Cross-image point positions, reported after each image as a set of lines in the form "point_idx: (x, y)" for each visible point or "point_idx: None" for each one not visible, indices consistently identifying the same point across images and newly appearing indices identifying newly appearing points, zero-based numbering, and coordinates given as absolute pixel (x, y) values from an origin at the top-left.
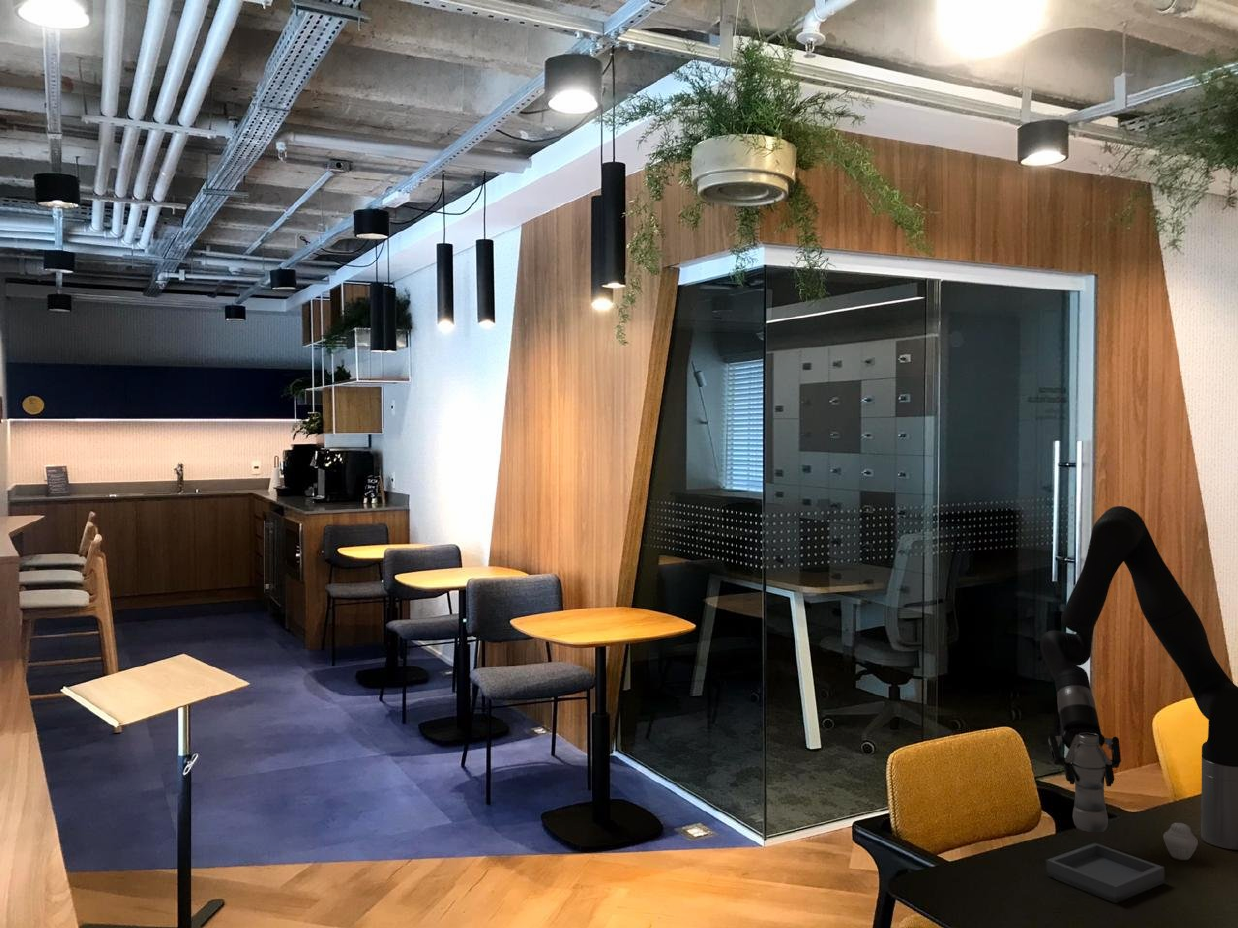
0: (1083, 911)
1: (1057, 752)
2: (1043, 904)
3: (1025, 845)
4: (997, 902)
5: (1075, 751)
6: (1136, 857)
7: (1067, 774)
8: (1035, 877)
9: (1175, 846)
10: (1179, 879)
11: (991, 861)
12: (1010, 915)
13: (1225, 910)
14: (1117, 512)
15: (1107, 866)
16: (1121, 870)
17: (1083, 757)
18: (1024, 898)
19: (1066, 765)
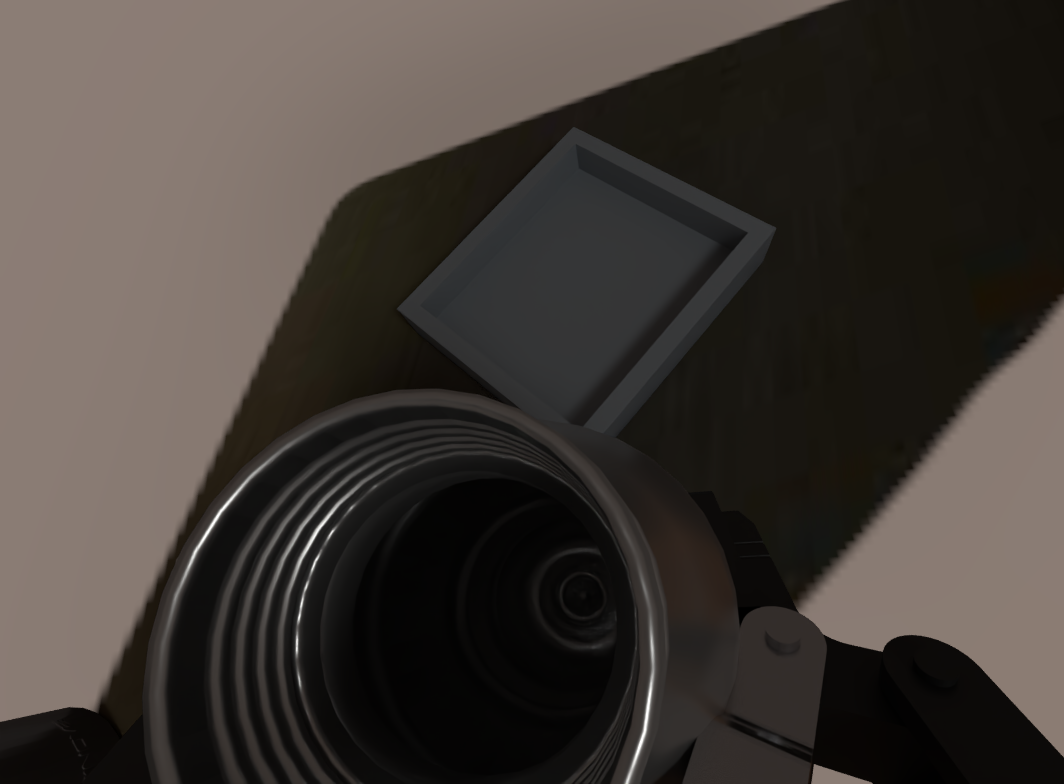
0: (664, 95)
1: (984, 744)
2: (765, 90)
3: (860, 515)
4: (890, 53)
5: (702, 598)
6: (460, 360)
7: (750, 534)
8: (797, 235)
9: None
10: (365, 374)
11: (971, 306)
12: (845, 10)
13: (328, 226)
14: None
15: (562, 353)
16: (523, 335)
17: (603, 439)
18: (818, 100)
19: (780, 606)
